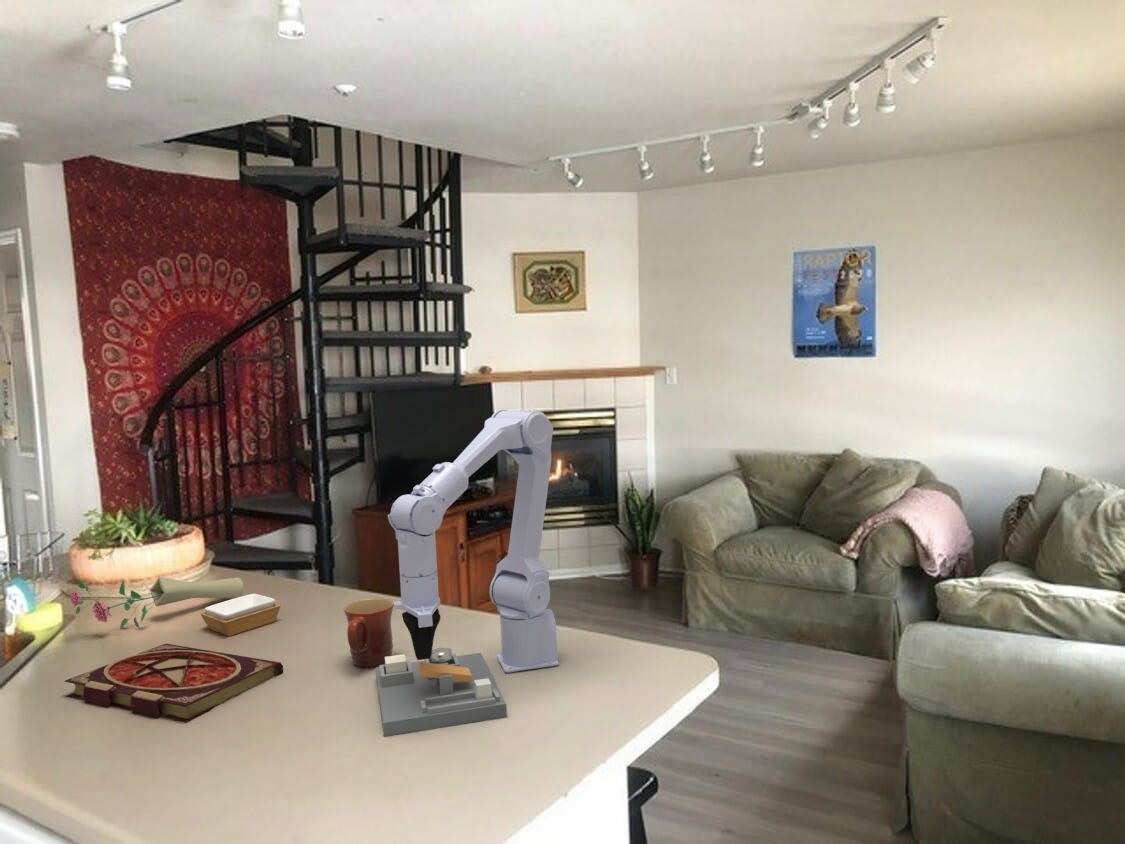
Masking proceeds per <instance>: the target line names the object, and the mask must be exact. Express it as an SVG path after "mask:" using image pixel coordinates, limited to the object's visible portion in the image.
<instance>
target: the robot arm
mask: <svg viewBox="0 0 1125 844" xmlns="http://www.w3.org/2000/svg"><path fill="white" fill-rule="evenodd" d="M553 431H554V426H553V424H552V422H551V421H550V419H549V418H548V417H547V415H546V414H545V413H544V412H542V411H540V410H533V411H531V410H530V411H527V410H526V411H525V410H524V411H522V410H507V409H498V410H496V411H495V412H494V413H493V414H492V415H491V417H489V418H487V419H485V420H484V427H483V429H482V430H481V431H480V432H479V433H478V434H477V436H476V437H475V438H473V440H472V441H471V442H470V443H469V444H468V445H467V446H466V447H465V448H464V450H462V452H461V453H459V455H458V456H457V458H456V459H454V461H453V462H447V461H444V462H441V463H437V464H435V465H434V466H433V467H432V470H433V471H432V472H431V473H430V474H429V475H428V476H427V477H426V478H425V479H423V481H421V483H420V484H416V485H415V486H414V487H413V488H412V491H411V493H410V494H403V495H400V496H399V497H398V498H397V499H396V500H395V501H394V502H393V504H392V506H391V509H390V513H389V514H388V515H387V519H388V522H389V524H390V526H391V527H392V528H393V529H394V532H395V539H396V540H397V549H398V550H397V552H398V564H399V565H398V566H399V568H398V569H399V582H400V599H401V600H395V601H393V602H394V607H393V609H395V610H403V612H402V613H401V617H402V619H403V620H402V621H403V624H404V625H405V627H406V628H407V629H408V632H409V635H410V638H411V642H412V647H413V651H414V655H415V657H416V660H417V661H424V659H430V658H431V653H432V651H433V644H434V639H435V633H436V630H437V627H438V625H439V624H440V622H441V614H440V611H439V606H440V605H441V597H439V595H440V594H439V579H438V562H437V560H438V559H437V545H436V544H437V542H436V531H438V530H439V529H440V528H441V526H442V522H443V519H444V515H445V514H446V513H447V510H448V508H450V506H452V505H453V503H454V502H456V501H457V500H458V499H459V497H461V495H462V494H464V492H465V491H467V490H468V487H469V478H470V477H471V476H472V475H473V474H474V473H475V472H477V471H478V470H479V469H480V468H481V467H482V466H484V464H485V463H487V462H488V461H489V460H490V459H491V458H493V457H494V456H495V455H496V454H497V453H498V452H500V451H502V450H503V451H504V452H506V453H507V454H509V455H510V456H511V457H512V459H514V461H515V462H516V463H517V465H518V475H517V482H516V489H515V490H516V491H515V496H514V497H515V499H514V503H513V504H514V505H513V513H512V521H511V527H510V536H509V544H508V551H507V555H506V556H505V557H504V558H503V559H502V560H500V561H499V562H498V563H497V564H496V568H495V574H494V576H493V578H492V580H491V583H490V585H489V598H490V600H491V603H492V604H494V605H495V606H496V609H497V613H499V618H500V619H499V620H500V638H501V641H500V642H501V653H498V654H496V658H497V660H498V662H499V664H500V666H501V667H502V670H503V671H504V673H512V672H513V673H515V672H519V671H526V670H535V669H539V668H540V669H541V668H549V667H555V666H559V665H560V664H559V659H558V643H557V641H558V639H557V638H558V637H557V624H556V619H555V615H554V612H553V610H552V609H550V608H548V605H549V603H550V599H551V587H550V584H549V583H550V582H549V579H550V578H549V577H550V572H549V570H548V569H547V568H546V566H545V565H544V564H543V562H542V561H541V559H540V555H541V554H540V552H541V546H542V538H543V531H544V530H543V529H544V522H545V514H546V507H547V505H546V504H547V498H548V491H549V490H548V489H549V482H550V476H551V475H550V474H551V467H552V449H551V448H552V440H553V435H554V434H553V433H554V432H553Z"/></svg>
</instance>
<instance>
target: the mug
mask: <svg viewBox="0 0 1125 844" xmlns="http://www.w3.org/2000/svg"><path fill="white" fill-rule="evenodd" d="M394 602H395V601H393V600H391V599H388V598H383V597H382V598H380V597H373V598H364V599H358V600H355V601H352V602H350V603H347V604H346V605H344V606H343V612H344V615H345V617H346V619H347V623H348V625H347V630H346V632H347V641H348V646H349V648H350V649H349V652H350V655H351V659H352V660H351V661H352V663H353V664H354V665H356V666H358V667H361V668H376V667H379V665H385V657H388V656H393V652H394V651H393V650H394V649H393V648H394V644H393V642H394V641H393V631H392V614H393V611H394Z"/></svg>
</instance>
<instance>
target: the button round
mask: <svg viewBox="0 0 1125 844" xmlns="http://www.w3.org/2000/svg"><path fill="white" fill-rule="evenodd" d="M452 654H453V651H452V649H451V648H448V647H439V648H435V649H432V653H431V663H433V664H442V663H448V665H449V664H451V663H452Z"/></svg>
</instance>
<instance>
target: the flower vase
mask: <svg viewBox="0 0 1125 844" xmlns="http://www.w3.org/2000/svg"><path fill="white" fill-rule="evenodd" d="M76 583H77V585H78V587H79V588H80V589H85V591H86V592H88V595H89V596H82V594H81V593H79V591H78V592H77V591H75V590H74V591H72V592H71V594H70V602H71V604H72V605H73V606H74V607H76V608H75V609H76V610H75V615H79V613H80V612H81V610H83V609H84V608H86V607H88V606H90V605H91V604H93V603H94V604H93V606H92V609H93V610H92V612H93V614H95V615H94V617H95V618H96V619H97V621H99V622H102V623H105V624H107V623H108V621H109V620H108V618H109V617H112V615H111V613H110V610H111V609H113V608H115V607H118V606H122V605H123V606H124V610H126V611H129V610H130V609H131V608H134V607H131V605H133V604H134V603H135V602H140V601H145V600H148V599H149V600H150V599H152V600H153V602H150V603H147V604H146V603H145V604H144V606H143V607H142V609H141V612H142V614H141V617H140V621H141V623H142V622H143V620H144V618H145V616H146V614H147V613H148V611H149V610H150V609H152V608H153V607H154V605H155V607H161V606H165V605H169V604H170V605H171V604H173V603H177V602H182V601H186V600H191V599H229V600H231V599H234V598H238V597H242V596H243V593H244V588H245V586H244V582H243V580H242V579H241V578H240V577H230V578H223V579H215V580H208V581H207V580H204V581H184V580H177V579H173V578H168V577H163V576H162V577H161V576H159V577H158V578H157V580H155V582H154V584H153V585H152V586H151V588H150V589H149V591H150V592H149V593H150V594H151V596H148V597H142V596H141V595H140V594H139V593H138V592H136V591H134V590H132V589H131V591H130V597H127V595H126V590H125V589H126V588H125V581H124V580H123V581H121V584H120V586H119V594H120V595H122V597H119V596H117V597H115V596H104V595H103V596H91V593H90V591H91V589H90V588H89V586H88V583H87V582H86V583H85V584H84V583H83V581H82V580H80V578H77V582H76ZM123 596H124V597H123ZM91 598H93V599H94V598H96V600H94V601H91V602H89V603H88V604H86V606H84V607H83V608H81V607H80V605H83V604H85V602H84V599H91ZM101 598H102V599H105V598H106V599H120V600H121V599H122V600H123V599H125V600H126V602H122V603H119V604H114V605H112V606H107V605H106V604H105V603H104V601H103V600H101V601H102V602H100V600H99V599H101ZM150 604H152V607H150V608H148V609H147V606H149V605H150ZM139 605H140V604H138V605H137V606H136V608H134V611H133V613H132V614H131V616H130V617H129V618H126V617H124V618H123V619H122V621H121V622H120V627H119V629H122V628H124V627H125V626H126V625H127V624H128V621H129V620H130V619H131V618H132V616H133V614H134V613H135V614H137V613H136V612H137V611H136V610H137V608H138V607H139ZM133 623H134V624H135V626H136V627H137V628H138V630H141V628H140V626H139V622H138V621H137V616H134V618H133Z"/></svg>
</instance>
